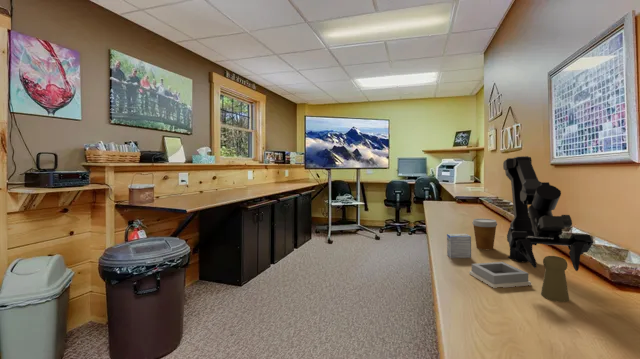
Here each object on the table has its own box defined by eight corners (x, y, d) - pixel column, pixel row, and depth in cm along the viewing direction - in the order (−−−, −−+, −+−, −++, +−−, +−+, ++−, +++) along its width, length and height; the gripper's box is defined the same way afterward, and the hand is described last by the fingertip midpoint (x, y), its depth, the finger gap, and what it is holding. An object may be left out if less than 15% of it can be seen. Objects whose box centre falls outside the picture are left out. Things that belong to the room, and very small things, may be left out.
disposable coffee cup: (502, 248, 128) (502, 220, 127) (489, 252, 123) (489, 223, 123) (480, 243, 136) (480, 217, 136) (467, 247, 131) (467, 220, 131)
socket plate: (502, 271, 102) (502, 261, 101) (531, 285, 90) (531, 273, 90) (469, 273, 100) (469, 263, 100) (493, 288, 89) (493, 276, 88)
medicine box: (467, 254, 121) (467, 233, 120) (471, 258, 116) (471, 236, 116) (446, 255, 122) (446, 233, 121) (450, 258, 117) (450, 236, 117)
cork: (563, 293, 84) (563, 254, 83) (573, 303, 78) (573, 261, 77) (537, 291, 86) (537, 253, 85) (545, 300, 80) (546, 259, 79)
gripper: (510, 203, 89) (520, 250, 79) (590, 204, 82) (612, 256, 72) (505, 225, 96) (513, 270, 86) (577, 228, 89) (595, 277, 79)
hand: (555, 268), depth 81 cm, fingers open, 9 cm apart
